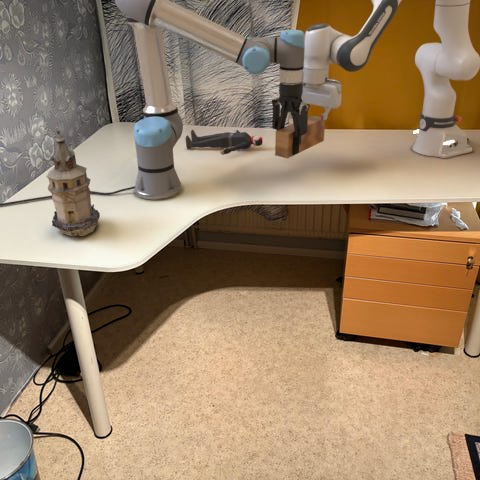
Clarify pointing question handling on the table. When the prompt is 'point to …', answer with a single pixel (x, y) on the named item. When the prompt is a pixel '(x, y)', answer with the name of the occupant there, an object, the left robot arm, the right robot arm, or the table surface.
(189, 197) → the table surface
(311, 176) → the table surface
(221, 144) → the toy
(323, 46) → the right robot arm
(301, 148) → the bar
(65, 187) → the miniature building
